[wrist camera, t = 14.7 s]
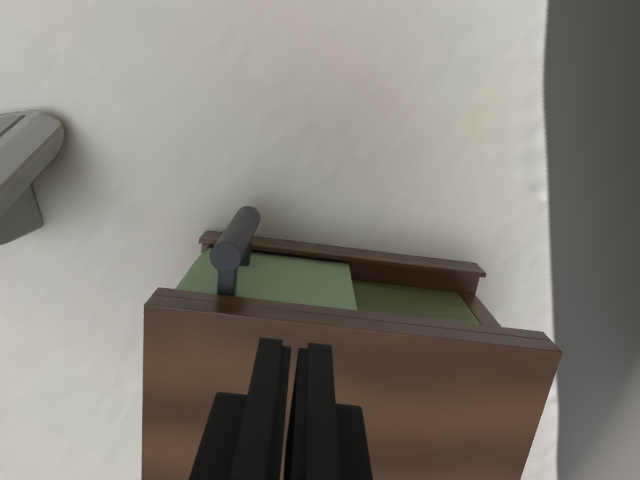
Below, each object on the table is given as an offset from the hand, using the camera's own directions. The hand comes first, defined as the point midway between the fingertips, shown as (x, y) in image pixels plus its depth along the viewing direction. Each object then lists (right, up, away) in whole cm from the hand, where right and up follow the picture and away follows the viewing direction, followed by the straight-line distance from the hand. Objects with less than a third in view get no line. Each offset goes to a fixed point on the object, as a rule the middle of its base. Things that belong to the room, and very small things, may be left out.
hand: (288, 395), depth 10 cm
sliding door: (-2, +4, +17) cm, 18 cm away
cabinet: (+1, -3, +21) cm, 21 cm away
